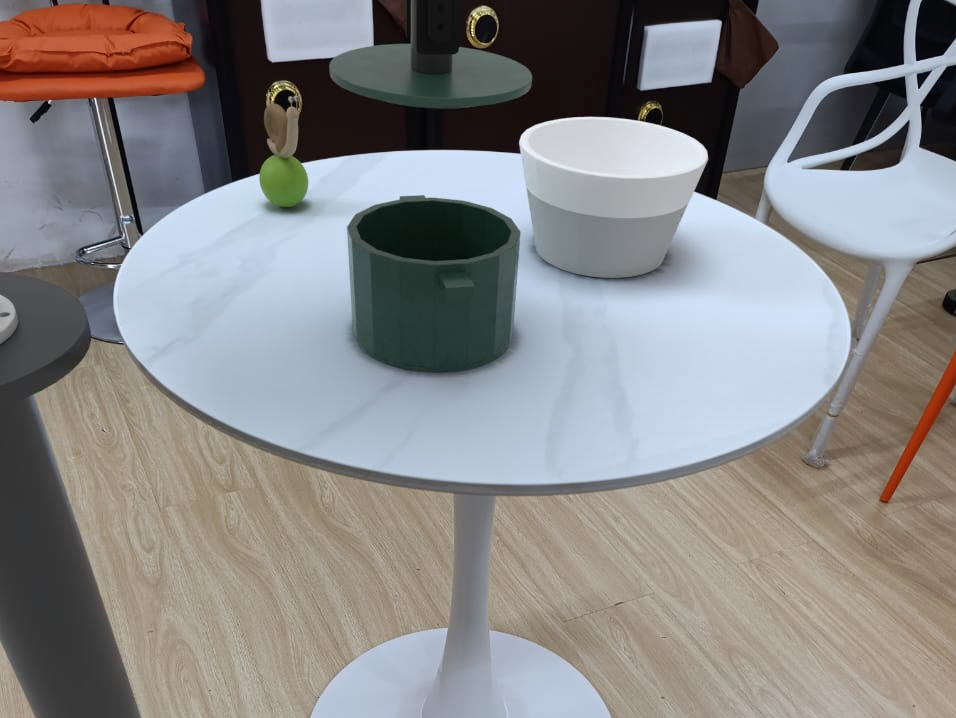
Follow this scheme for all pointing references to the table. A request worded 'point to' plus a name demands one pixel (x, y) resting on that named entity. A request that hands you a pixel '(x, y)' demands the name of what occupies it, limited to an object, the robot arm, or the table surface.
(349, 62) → the lid
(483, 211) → the pot
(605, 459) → the table surface
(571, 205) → the bowl
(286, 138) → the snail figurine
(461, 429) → the table surface
